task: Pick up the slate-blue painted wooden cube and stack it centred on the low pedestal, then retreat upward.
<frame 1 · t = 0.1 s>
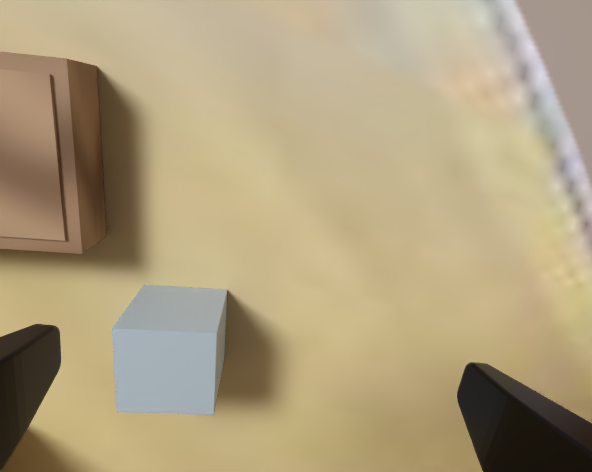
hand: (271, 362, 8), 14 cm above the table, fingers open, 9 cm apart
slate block: (186, 322, 24), on the table
pedestal: (14, 148, 20), on the table
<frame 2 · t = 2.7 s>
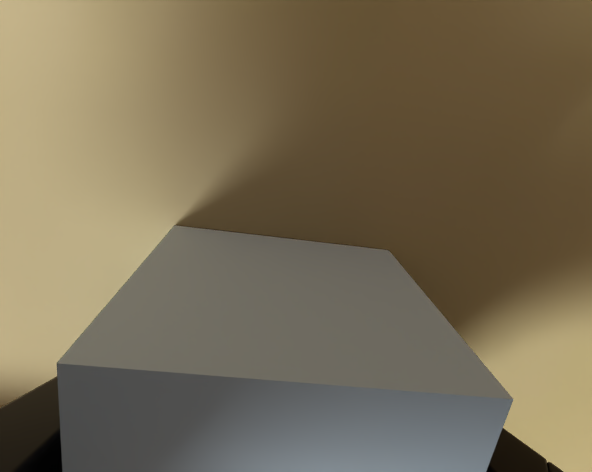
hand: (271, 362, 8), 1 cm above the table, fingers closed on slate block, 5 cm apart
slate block: (271, 331, 10), on the table, touching gripper
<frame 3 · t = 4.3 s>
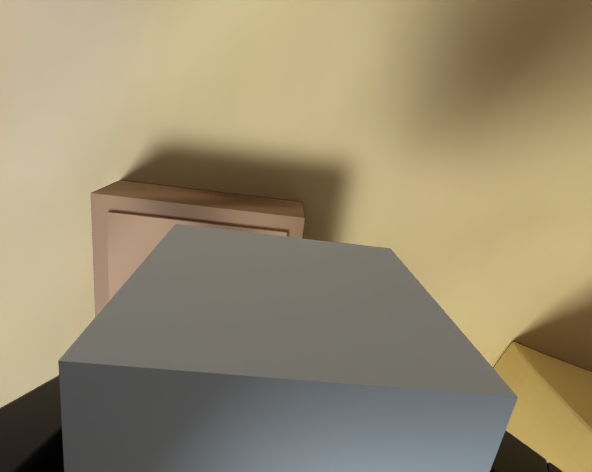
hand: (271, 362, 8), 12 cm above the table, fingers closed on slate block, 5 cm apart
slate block: (272, 330, 10), point 11 cm above the table, touching gripper
cheese: (530, 419, 25), on the table
pedestal: (207, 273, 21), on the table
when the fingers open (5 cm above the table, at t = 6.4 s): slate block stays where it is, resting on pedestal.
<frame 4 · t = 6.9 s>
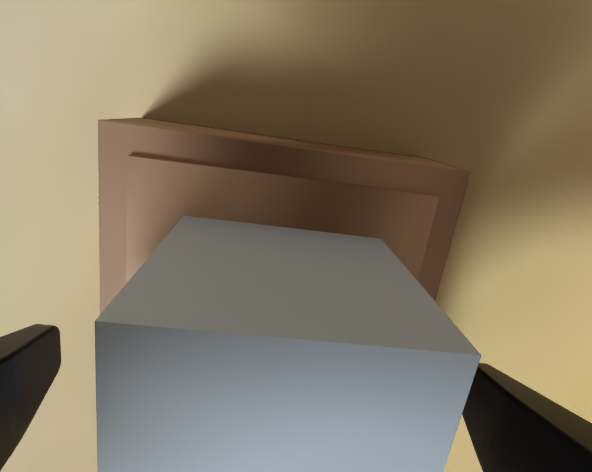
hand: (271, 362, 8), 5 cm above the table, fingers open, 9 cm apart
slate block: (272, 315, 10), point 3 cm above the table, touching pedestal
pedestal: (270, 270, 13), on the table
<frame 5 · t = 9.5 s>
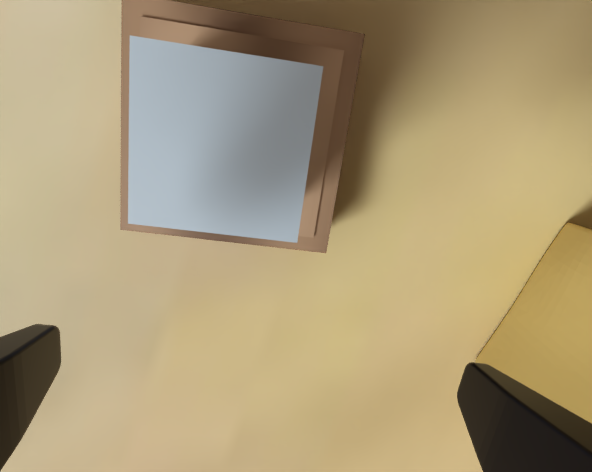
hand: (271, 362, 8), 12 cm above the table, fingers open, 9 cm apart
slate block: (236, 137, 16), point 3 cm above the table, touching pedestal
cheese: (577, 318, 23), on the table
pedestal: (241, 133, 19), on the table
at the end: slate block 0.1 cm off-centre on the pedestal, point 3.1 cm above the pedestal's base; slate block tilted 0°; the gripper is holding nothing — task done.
